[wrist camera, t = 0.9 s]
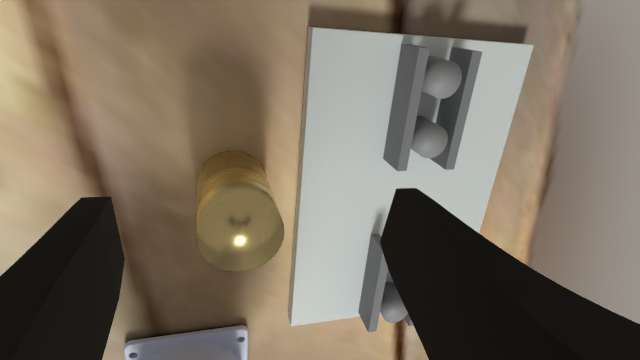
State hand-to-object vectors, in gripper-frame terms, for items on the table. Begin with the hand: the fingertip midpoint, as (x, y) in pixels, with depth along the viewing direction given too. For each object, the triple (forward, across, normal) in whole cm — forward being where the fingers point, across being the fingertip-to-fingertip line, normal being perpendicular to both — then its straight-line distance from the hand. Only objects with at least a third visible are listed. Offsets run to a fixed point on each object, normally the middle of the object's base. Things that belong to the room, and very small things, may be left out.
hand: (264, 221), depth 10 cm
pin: (+12, 0, +7) cm, 14 cm away
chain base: (+12, -11, +8) cm, 18 cm away
